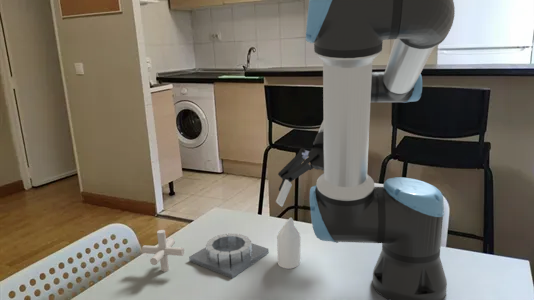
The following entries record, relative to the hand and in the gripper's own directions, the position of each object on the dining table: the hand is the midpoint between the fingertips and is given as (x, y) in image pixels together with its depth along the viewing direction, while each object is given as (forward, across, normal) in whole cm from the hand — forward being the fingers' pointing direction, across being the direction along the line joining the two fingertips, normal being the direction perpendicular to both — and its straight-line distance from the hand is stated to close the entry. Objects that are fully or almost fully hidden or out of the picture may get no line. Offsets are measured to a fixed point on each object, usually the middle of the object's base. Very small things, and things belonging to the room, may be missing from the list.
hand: (301, 209), depth 108 cm
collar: (+17, +13, +1) cm, 22 cm away
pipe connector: (+26, +22, +10) cm, 36 cm away
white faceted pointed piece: (+13, -1, -3) cm, 13 cm away
